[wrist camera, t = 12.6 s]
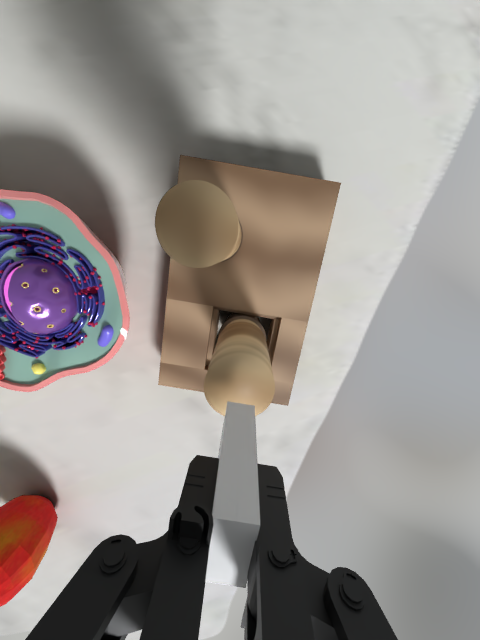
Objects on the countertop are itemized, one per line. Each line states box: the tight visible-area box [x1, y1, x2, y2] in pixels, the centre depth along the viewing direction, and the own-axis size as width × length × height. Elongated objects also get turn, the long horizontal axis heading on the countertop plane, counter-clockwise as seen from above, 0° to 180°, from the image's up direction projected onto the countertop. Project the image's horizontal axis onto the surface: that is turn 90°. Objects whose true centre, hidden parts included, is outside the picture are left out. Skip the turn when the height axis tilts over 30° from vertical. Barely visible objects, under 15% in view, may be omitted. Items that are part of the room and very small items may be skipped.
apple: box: [0, 495, 58, 607], centre depth 32 cm, size 9×9×12 cm
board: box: [155, 155, 341, 406], centre depth 23 cm, size 22×14×14 cm, turn 171°
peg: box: [204, 312, 275, 416], centre depth 24 cm, size 5×5×14 cm
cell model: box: [0, 189, 130, 392], centre depth 25 cm, size 17×20×11 cm
